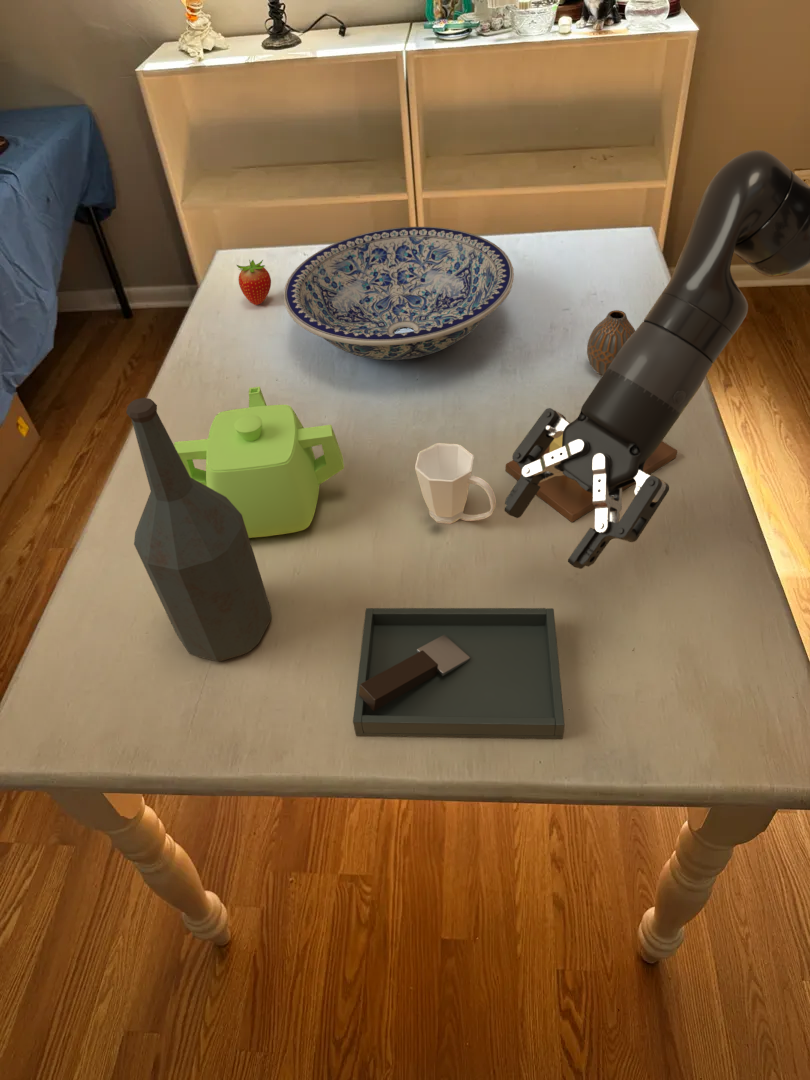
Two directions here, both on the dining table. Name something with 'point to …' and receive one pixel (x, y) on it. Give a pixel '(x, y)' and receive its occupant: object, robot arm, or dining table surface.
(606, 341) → the vase
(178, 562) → the bottle
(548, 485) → the board
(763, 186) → the robot arm
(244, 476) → the teapot
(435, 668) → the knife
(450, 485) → the cup
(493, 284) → the ceramic bowl
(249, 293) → the fruit
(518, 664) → the tray
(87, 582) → the dining table surface
